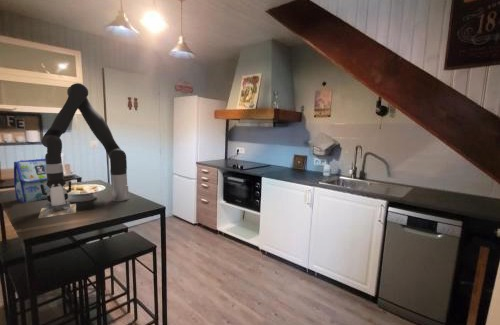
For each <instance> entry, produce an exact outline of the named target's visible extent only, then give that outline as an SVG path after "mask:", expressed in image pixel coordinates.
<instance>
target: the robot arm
mask: <svg viewBox="0 0 500 325" xmlns="http://www.w3.org/2000/svg"><path fill="white" fill-rule="evenodd" d="M66 93H67V96H68V97H67V98H66V100H65V103H64V104H63V106H62V108H61V109H60V110H59V112H58V113H57V114H56V116H55V118H54V119H53V121H52V124H51V126H50V127H49V128H48V130H47V131H46V132H45V133H44V134H43V136H42V139H41V144H42V145H43V146H44V147H45V148H46V154H44V159H45V160H46V174H47V183H46V184H41V185H40V187H41V191H42V195H47V199H46V200H47V202H49V203H51V197H50V192H51V188H52V187H56V186H61V185H62V186H61V187H62V188H63V187H64V188H63V191H64V193H65V194H64V195H65V201H68V198H69V196H68V195H69V194H68V193H71V192H72V181H71V180H69V181H66V180H65V173H64V165H63V161H62V153H63V152H62V151H63V141H62V139H61V136H62V135H64V134H66V132H67V130H68V128H69V126H70V125H71V122H72V121H73V118H74V116H75V114H76V113H77V111H78V110H79V112H80V113H81V116H82V117H83V119H84V121H85V122H86V124H87V125H88V127H89V129H90V131H91V132H92V133H93V135H94V137H95V138H96V139H97V140H98V141H99V142H100V144H101V145H102V146H103V148H104V150H105V152H106V153H107V156H108V158H109V163H110V164H109V165H110V171H109V172H110V183H111V184H110V185H111V187H110V188H111V196H112V198H111V200H112V201H113V202H124V201H127V200H130V199H129V198H130V196H129V195H130V194H129V185H128V174H127V173H128V172H127V169H128V166H127V164H128V163H127V162H128V161H127V154H126V152H125V151H124V150H123V149H121V147H120V146H119V145H118V143H117V142H116V140H115V139H114V137H113V133H112V132H111V129H110V127H109V125H108V124H107V122H106V121H105V119H104V118H103V116H102V115H101V114H100V113H99V112H98V111H97V110H96V109H95V108H94V107H93V105H92V104H91V102H90V100H89V99H88V96H89V89H88V87H87V86H86V85H84V84H83V83H79V82H77V83H73V84H72V85H70V86H69V87H68V89H67V90H66ZM46 185H47V186H48V187H49V188H50V189H49V191H48V193H47V192H45V187H46ZM65 185H66V186H68V189H66V187H65Z"/></svg>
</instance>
